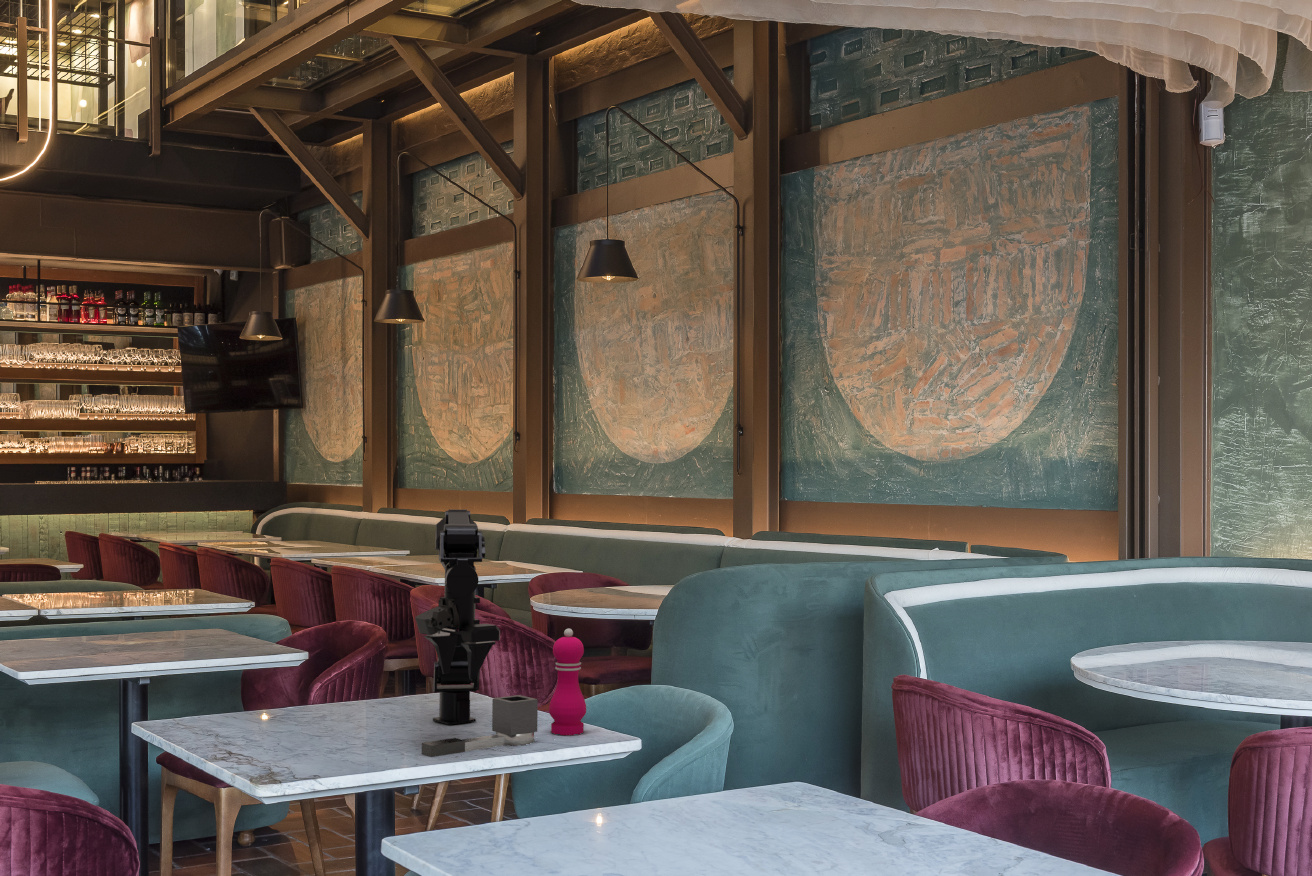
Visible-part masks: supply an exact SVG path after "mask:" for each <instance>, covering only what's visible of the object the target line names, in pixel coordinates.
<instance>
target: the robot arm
mask: <svg viewBox="0 0 1312 876" xmlns="http://www.w3.org/2000/svg"><path fill="white" fill-rule="evenodd" d="M434 546H435V548H434V549H435V551H438V561H439V562H440V564H441V565H442V568H443V569H444V596H441V597H439V600H438V606H436V607H433V608H431V609H428V610H427V611H424V612H422V613H420V614H417V615H416V616H415V617H414V618H415V622H416V626H417V629H418V633H419V634H420V635H424V636H423V637H424V638H425V639H426V640H428V641H429V642H430V643H431V644H432V645H433V646H434V649H435V653H436V655H437V661H434V665H433V667H434V669H433V693H435V694H436V693H439V715H438V716H437V717H432V721H433V722H434V721H435V722H436V723H437V722H438V723H440V724H444V725H445V724H446V725H448V726H449V725H450V726H451V725H458V724H465V723H473V722H476V721H477V718H475V717H471V698H470V697H471V692H473V693H474V692H475V693H476V692H477V691H479V690H480V676H481V675H480V674H481V668H482V667H483V664H484V661H485V660H486V658H487V656H488V654H489V652H490V651H491V650H492V647H493V646H495V645H496V643H497V642H498V641H500V640H501V630H500V628H499V627H498V626H497V625H496V624H491V623H490V624H489V623H480V622H481V620H480V619H476V604H480V603H481V597H478V596H476V590H477V587H478V585H479V576H478V573H477V568H476V566H475V563H483V559H485V558H486V541H485V536H484V535H483V532H482V530H479V526H478V524H477V523H476V521H474V520H473V519H472V518H471V510H468V509H457V508H456V509H453V508H452V509H451V508H450V509H448V510H445V511H444V517H443V518H442V519H441V520H440V521H438V522H437V523H436V525H435V545H434Z"/></svg>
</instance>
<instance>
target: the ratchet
mask: <svg viewBox="0 0 1312 876" xmlns="http://www.w3.org/2000/svg"><path fill="white" fill-rule="evenodd" d="M533 742H534V743H535V732H532V733H526V734H519V735H512V736H510V735H506V734H502V733H498V732H495V734H492V735H491V734H489V735H484V736H476V737H470V738H464V739H462V738H456V737H453V738H446V739H445V738H444V739H439V740H433V741H425V742H421V753H420V754H421V755H423V756H427V757H429V758H433V757H439V756H441V757H442V756H446V755H454V754H460V753H461V754H462V753H465V752H471V751H476V750H483V749H489V747H490V748H495V746H497V747H502V745H503V746H507V745H510V746H511V747H517V745H521V746H527V745H526V744H529V745H531V744H530V743H532V744H534V743H533ZM512 745H513V746H512ZM510 746H509V747H510Z"/></svg>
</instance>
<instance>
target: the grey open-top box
mask: <svg viewBox="0 0 1312 876" xmlns="http://www.w3.org/2000/svg"><path fill="white" fill-rule="evenodd" d="M538 701H539V700H538V699H537V698H534V697H528V696H525V695H521V694H517V695H509V696H501V697H492V708H491V709H492V710H491V712H492V714H491V724H492V725H491V731H492V732H495V733H496V732H498V733H502V734H506V735H510V736H512V735H519V734H526V733H532V732H534V733H537V732H538V713H539V712H538V711H539V710H538V708H539V707H538V704H539V703H538Z"/></svg>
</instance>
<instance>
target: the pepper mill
mask: <svg viewBox="0 0 1312 876" xmlns="http://www.w3.org/2000/svg"><path fill="white" fill-rule="evenodd" d="M563 635H564V636H562V637H560V638H558V639H556V640H555V642H554V643H553V646H552V655H553V656H554V658H555V659H556V661H555V667H554V669H555V670H556V671H557V672H556V673H557V681H556V687H555V689H554V693H553V695H552V697H551V699H550V703H549V705H548V706H549V707H548V713H549V716H550V717H551V718H552V719H553V722H552V723H551V726H550V727H551V729H550V730H551V734H553V733H554V734H553V735H556V734H560V735H559V736H575V735H574V734H578V735H582V734H583V733H584V725H585V724H584V722H583V721H582V719H583V718H584V717H585V715H586V713H587V704H586V700H585V698H584V695H583V693H582V690H581V688H580V683H579V673H580V672H579V671H580V670H581V669H582V667H581V665H582V662H581V661H580V660H581V659H582V658H583V656H584V653H585V649H584V644H583V642H582V641H581V640H580V639H579V638H577V637H575V636H573V635H574V631H573V630H572V628H566V629H565V630H564V632H563ZM581 733H582V734H581Z"/></svg>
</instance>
